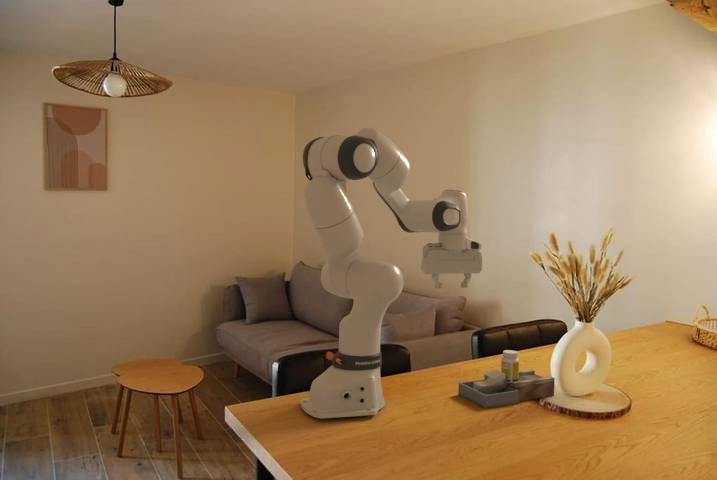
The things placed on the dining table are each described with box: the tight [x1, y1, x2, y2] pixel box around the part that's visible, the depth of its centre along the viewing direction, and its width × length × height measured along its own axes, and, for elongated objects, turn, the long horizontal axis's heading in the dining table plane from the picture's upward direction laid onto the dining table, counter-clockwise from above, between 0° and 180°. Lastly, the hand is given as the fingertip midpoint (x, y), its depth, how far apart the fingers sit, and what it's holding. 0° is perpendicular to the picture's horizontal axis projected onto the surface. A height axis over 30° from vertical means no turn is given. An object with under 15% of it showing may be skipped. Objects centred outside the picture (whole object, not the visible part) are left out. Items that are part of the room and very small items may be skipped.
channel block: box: [507, 369, 555, 402], centre depth 153 cm, size 14×9×5 cm, turn 115°
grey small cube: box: [483, 368, 507, 392], centre depth 149 cm, size 4×4×4 cm
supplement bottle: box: [500, 349, 520, 384], centre depth 151 cm, size 5×5×8 cm
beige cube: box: [473, 381, 494, 395], centre depth 147 cm, size 4×4×4 cm
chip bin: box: [457, 378, 520, 410], centre depth 148 cm, size 11×12×3 cm
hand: (451, 288), depth 166 cm, fingers open, 8 cm apart
